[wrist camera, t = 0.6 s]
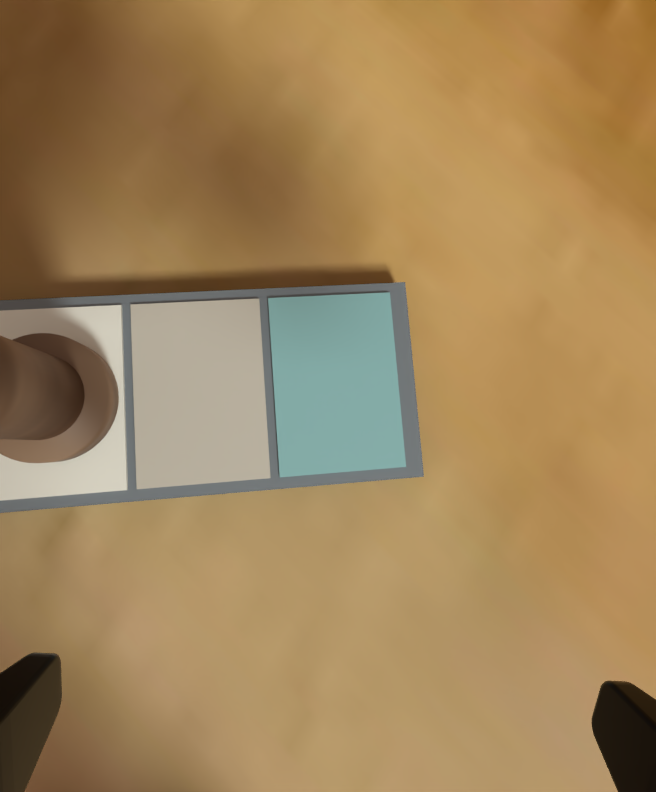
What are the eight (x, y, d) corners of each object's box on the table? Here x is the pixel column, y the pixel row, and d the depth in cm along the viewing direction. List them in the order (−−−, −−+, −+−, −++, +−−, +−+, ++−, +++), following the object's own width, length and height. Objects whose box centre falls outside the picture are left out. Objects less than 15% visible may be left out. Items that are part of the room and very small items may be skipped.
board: (398, 290, 23) (405, 281, 21) (416, 474, 22) (424, 476, 20) (-15, 310, 21) (-36, 300, 20) (-15, 511, 20) (-37, 516, 19)
